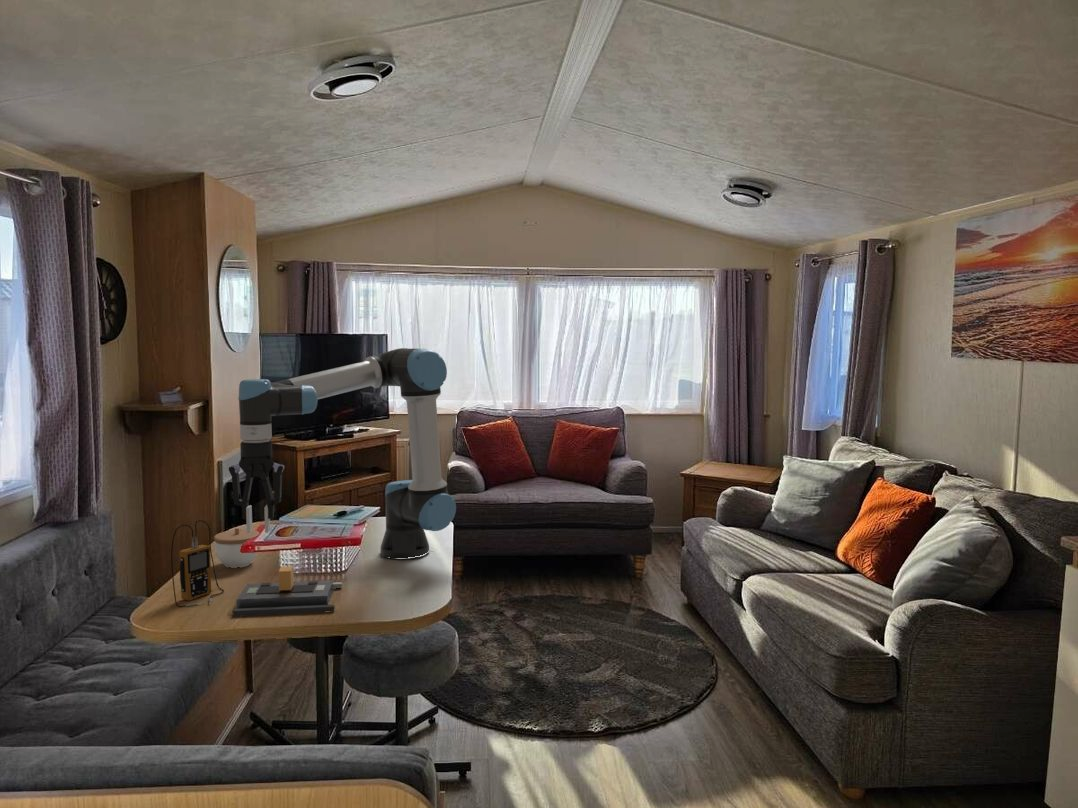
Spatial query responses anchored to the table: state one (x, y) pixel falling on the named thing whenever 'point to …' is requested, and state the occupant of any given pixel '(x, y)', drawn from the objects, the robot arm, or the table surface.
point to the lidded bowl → (234, 547)
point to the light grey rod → (337, 585)
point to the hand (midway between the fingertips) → (258, 531)
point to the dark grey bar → (282, 610)
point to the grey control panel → (285, 595)
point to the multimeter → (195, 570)
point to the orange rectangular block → (286, 578)
